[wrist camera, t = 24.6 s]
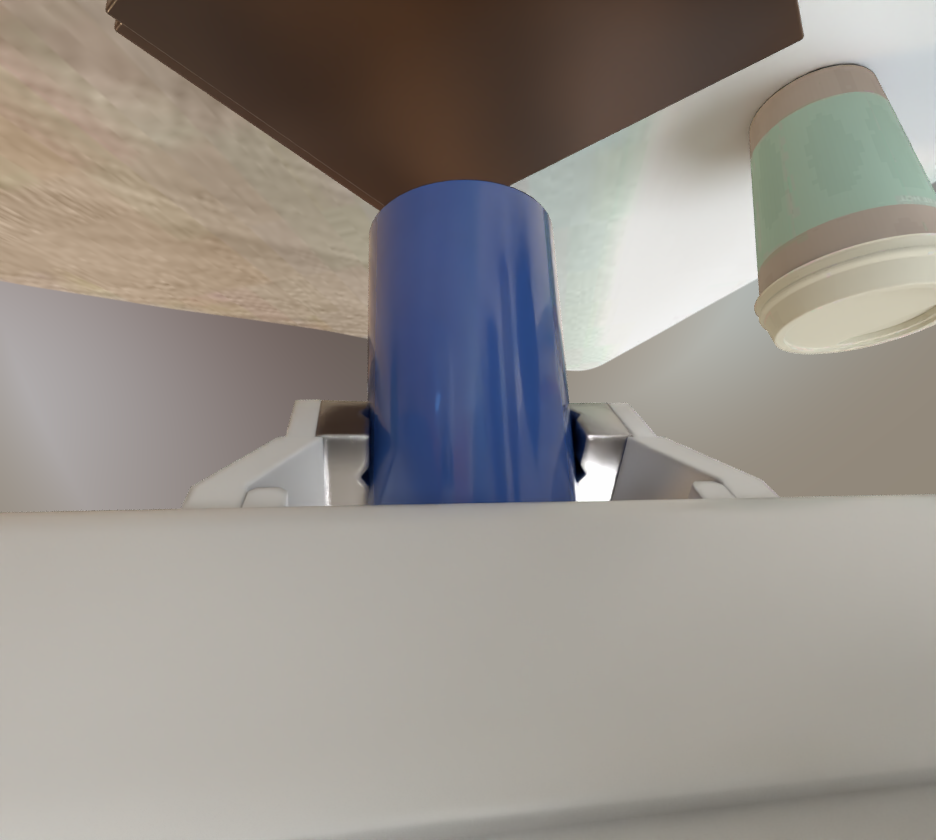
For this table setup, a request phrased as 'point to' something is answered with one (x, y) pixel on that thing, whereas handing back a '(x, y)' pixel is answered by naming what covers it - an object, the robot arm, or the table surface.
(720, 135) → the table surface
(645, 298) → the table surface
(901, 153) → the coffee cup
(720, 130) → the table surface
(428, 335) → the jar
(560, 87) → the cabinet
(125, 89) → the table surface
